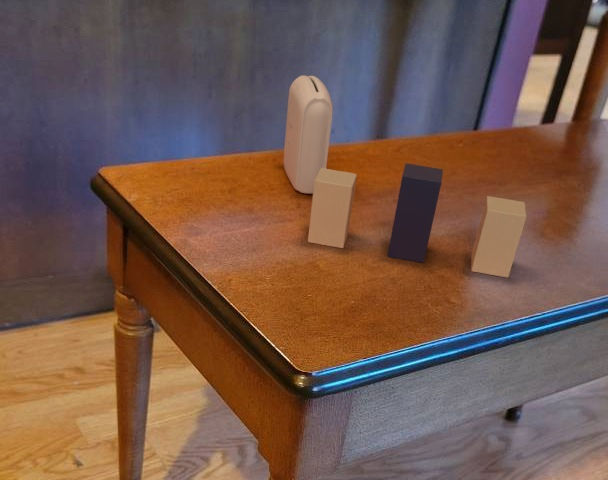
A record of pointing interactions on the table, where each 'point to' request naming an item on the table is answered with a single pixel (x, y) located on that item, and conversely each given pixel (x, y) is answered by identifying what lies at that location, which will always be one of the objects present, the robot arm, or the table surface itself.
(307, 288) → the table surface
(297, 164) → the photo printer
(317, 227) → the post
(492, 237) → the post
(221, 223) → the table surface
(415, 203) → the navy block
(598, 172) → the table surface
